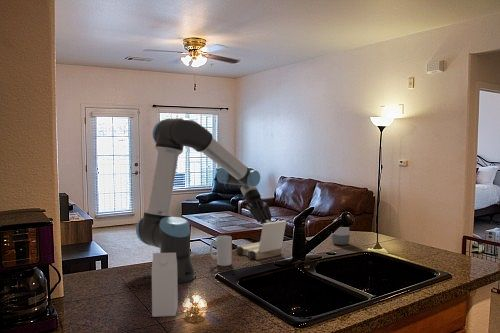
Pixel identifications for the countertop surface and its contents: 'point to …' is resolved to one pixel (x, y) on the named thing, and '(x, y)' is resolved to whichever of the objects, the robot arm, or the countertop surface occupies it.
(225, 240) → the mug
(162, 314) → the milk carton
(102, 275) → the countertop surface
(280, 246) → the panel
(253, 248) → the flatbed
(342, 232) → the smart speaker
